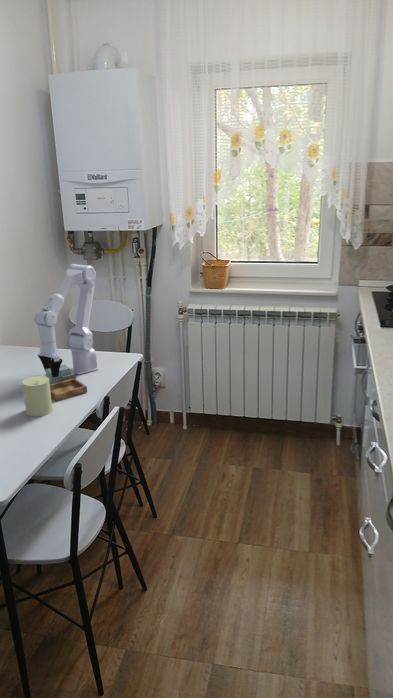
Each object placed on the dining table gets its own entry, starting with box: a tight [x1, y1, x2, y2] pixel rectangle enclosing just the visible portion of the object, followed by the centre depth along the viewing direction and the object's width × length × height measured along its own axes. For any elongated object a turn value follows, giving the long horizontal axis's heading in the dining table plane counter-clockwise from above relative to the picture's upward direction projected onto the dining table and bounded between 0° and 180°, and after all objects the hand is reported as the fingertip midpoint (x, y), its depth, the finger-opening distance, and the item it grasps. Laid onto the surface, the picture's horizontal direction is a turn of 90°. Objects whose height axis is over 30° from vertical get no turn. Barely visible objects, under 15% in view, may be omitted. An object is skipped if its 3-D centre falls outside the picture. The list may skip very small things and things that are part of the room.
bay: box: [62, 370, 77, 381], centre depth 218 cm, size 6×9×4 cm, turn 37°
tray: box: [50, 378, 88, 402], centre depth 207 cm, size 13×11×2 cm
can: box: [21, 375, 54, 417], centre depth 191 cm, size 9×9×12 cm
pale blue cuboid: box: [44, 364, 71, 385], centre depth 216 cm, size 8×5×6 cm, turn 127°
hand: (51, 373), depth 214 cm, fingers open, 7 cm apart
